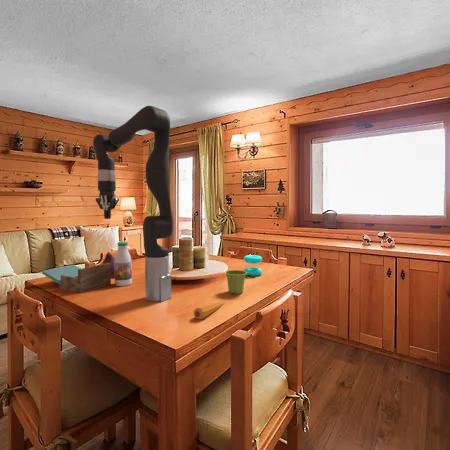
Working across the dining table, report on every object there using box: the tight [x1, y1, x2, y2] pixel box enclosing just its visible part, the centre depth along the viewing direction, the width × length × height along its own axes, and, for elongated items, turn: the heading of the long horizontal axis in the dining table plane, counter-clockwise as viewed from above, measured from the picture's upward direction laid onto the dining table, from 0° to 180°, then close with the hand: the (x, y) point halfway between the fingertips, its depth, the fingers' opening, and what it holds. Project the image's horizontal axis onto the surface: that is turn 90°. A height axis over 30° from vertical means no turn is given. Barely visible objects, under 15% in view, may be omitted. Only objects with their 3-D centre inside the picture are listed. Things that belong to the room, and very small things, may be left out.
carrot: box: [193, 302, 225, 320], centre depth 108 cm, size 20×4×4 cm, turn 152°
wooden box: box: [57, 263, 112, 294], centre depth 139 cm, size 15×16×10 cm
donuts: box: [243, 254, 263, 277], centre depth 164 cm, size 10×10×10 cm
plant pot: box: [224, 269, 247, 295], centre depth 131 cm, size 9×9×9 cm
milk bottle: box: [114, 241, 133, 287], centre depth 142 cm, size 8×8×20 cm
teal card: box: [41, 264, 82, 284], centre depth 145 cm, size 2×16×12 cm
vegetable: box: [102, 251, 115, 280], centre depth 156 cm, size 10×10×15 cm
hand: (107, 218), depth 138 cm, fingers closed
